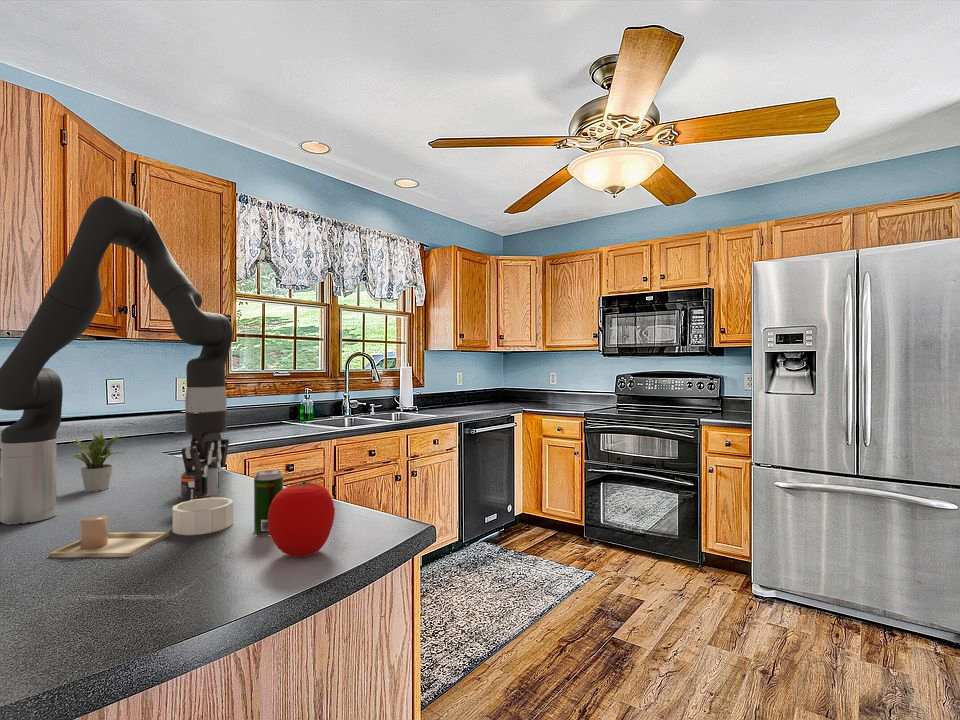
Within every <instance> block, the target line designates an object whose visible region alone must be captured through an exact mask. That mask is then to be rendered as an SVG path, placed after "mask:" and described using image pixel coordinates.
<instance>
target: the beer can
mask: <svg viewBox="0 0 960 720" xmlns="http://www.w3.org/2000/svg"><path fill="white" fill-rule="evenodd" d="M253 487H254V488H253V499H254V500H253V501H254V502H253V515H254V516H253V517H254V518H253V531H254V534H255V535H256V536H258V535H259V536H258V537H269V536H268V535H270V533H269V528H268V513H269V508H270V505H271V503H272V500H273V499H274V497H275V496H276V495H277V494H278V493H279V492H280V491H281V490H282V489H284V475H283V471H282V470H280V469H279V470H278V469H267V470H261V471H257V472H255V476H254V479H253Z"/></svg>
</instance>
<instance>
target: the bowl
mask: <svg viewBox="0 0 960 720" xmlns="http://www.w3.org/2000/svg"><path fill="white" fill-rule="evenodd" d="M233 524H234V502H233V498H228V497H210V498H203V499H195V500H190V501H186V502H181V501H180V502H179V503H178V504H175V505H173V506H172V533H174V534H176V535H181V536H196V535H198V536H199V535H205V534H212V533H215V532H220V531H223V530H225V529H227V528H229V527H231V526H232V525H233Z"/></svg>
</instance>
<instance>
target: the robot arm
mask: <svg viewBox="0 0 960 720" xmlns="http://www.w3.org/2000/svg"><path fill="white" fill-rule="evenodd" d="M111 244H114V245H116V246H120V247H123V248H128V249H129V250H131V251H132V252H133V253H135V254H136V256H137V257H138V258H140V260H141V261H142V263H143V264H144V266H145V270H146V280H147V282H148V285H149V288H150V290H151V291H152V292H153V294H154V295H155V297H156V298H157V299H158V300H159V302H161V305H163V306H164V308H165V309H166V310H167V313H168V316H169V320H170V321H171V324H172V326H173V330H174V332H175V334H176V335H177V337H178V338H179V339H180V340H182V341H183V342H184V343H186V344H188V345H189V346H195V347H196V346H197V347H198V346H199V347H201V351H200V354H199V356H198V357H195V358H192V359H190V360H188V362H187V364H186V369H185V371H186V373H185V374H186V375H185V376H186V390H185V391H186V392H185V397H184V398H185V400H184V405H185V407H184V409H185V410H184V413H185V414H184V415H185V416H184V417H185V418H184V419H185V422H184V423H185V433H187V434H189V435H191V441H190V444H191V446H190V445H189V446H188V447H182V449H181V455H182V456H181V457H182V461H183V464H184V471H185V470H186V475H187V476H192V477H194V494H195V496H205V495H207V477H206V476H207V470H208V467H217V468H218V490H219V489H220V472H221V471H222V468H224V467H225V466H226V462H227V456H228V449H229V443H230V442H229V441H230V440H229V439H228V438H222V435H221V433H223V432H225V431H227V429H228V423H227V422H228V420H227V419H228V418H227V417H228V416H227V415H228V414H227V413H228V412H227V411H228V410H227V409H228V407H227V405H228V404H227V401H228V400H227V392H226V391H227V390H226V369H225V368H226V364H227V362H228V357H229V355H230V354H229V353H230V350H231V345H232V342H233V327H232V324H231V321H230V320H229V318H228V317H227V316H226V315H224V314H221V313H218V312H216V313H215V312H210V311H209V312H208V311H202V310H201V309H200V307H201V306H202V303H203V298H202V295H201V293H200V292H199V290H197V288H196V286H195V285H194V284H193V283H192V282H191V280H190V279H189V278H188V276H187V275H186V274H185V273H184V272H183V270H182V269H181V268H180V266H179V265H178V264H177V262H176V261H175V259H174V257H173V256H172V254H171V252H170V251H169V249H168V247H167V245H166V244H165V242H164V240H163V238H162V235H161V234H160V232H159V231H158V229H157V226H156V225H155V223H154V222H153V220H152V218H151V217H150V216H149V215H148V213H147V212H146V211H144V210H143V209H141V208H139V207H137V206H135V205H133V204H130V203H128V202H125V201H123V200H120V199H118V198H115V197H112V196H109V195H104V196H100V197H98V198H96V199H95V200H93V201H92V202H91V203H90V205H89V206H88V208H86V211H85V213H84V215H83V217H82V219H81V222H80V225H79V226H78V229H77V232H76V234H75V237H74V239H73V242H72V244H71V247H70V249H69V252H68V254H67V256H66V258H65V260H64V261H63V262H62V265H61V267H60V269H59V271H58V273H57V275H56V277H55V278H54V280H53V282H52V284H51V285H50V286H49V288H48V289H47V291H46V293H45V295H44V297H43V299H42V300H41V303H40V305H39V306H38V308H37V311H36V313H35V315H34V317H33V318H32V320H31V322H30V323H29V325H28V327H27V328H26V330H25V331H24V333H23V334H22V336H21V338H20V339H19V342H17V344H16V346H15V348H14V349H13V350H12V352H11V353H10V354H9V355H8V357H6V359H5V360H4V362H3V363H2V365H1V366H0V410H3V411H13V412H14V411H23V412H22V414H21V415H22V416H21V417H20V418H19V419H18V420H17V421H16V422H14V423H13V424H10V425H9V426H6V427H4V428H3V429H2V431H1V433H0V441H1V442H0V522H2V523H10V524H9V525H19V524H18V523H22V524H28V522H30V523H35V522H40V521H43V520H47V519H50V518H53V517H55V516H56V515H57V437H58V436H57V432H58V429H59V428H60V426H61V421H62V411H63V410H62V408H63V398H64V397H63V394H64V392H63V383H62V379H61V377H60V375H59V373H58V372H57V371H55V370H54V369H51V368H48V367H45V365H47V364H46V363H47V362H48V361H49V360H51V358H52V357H53V356H54V355H55V354H57V353H58V352H59V351H60V350H62V349H64V348H65V347H66V346H68V345H69V344H71V343H72V342H73V341H75V340H76V339H77V338H79V337H80V336H81V335H82V334H83V333H85V331H86V330H87V329H88V328H89V327H90V325H91V323H92V322H93V320H94V318H95V316H96V314H97V312H98V311H99V310H100V307H101V305H102V300H103V292H102V291H103V290H102V284H101V275H100V268H101V264H102V260H103V257H104V255H106V251H107V250H108V248H109V247H110V245H111ZM200 460H203V461H200ZM211 462H212V463H211ZM201 465H202V470H201ZM191 466H193V468H192V469H191ZM2 523H1V524H2Z"/></svg>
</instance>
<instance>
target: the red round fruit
mask: <svg viewBox="0 0 960 720" xmlns="http://www.w3.org/2000/svg"><path fill="white" fill-rule="evenodd" d="M315 482H316V481H314V482H311V481H308V482H306V480H302V482H298V483H294V484H291V485H288V486H285V487H283V489H282V490H281V491H280V492H279V493H278V494H277V495H276V496H275V497H274V499H273V500H272V503H271V505H270V508H269V513H268V528H269V533H270V535H271V536H270V537H271V539H272V541H273V543H274V545H275V546H276V547H277V549H278V550H280V551H281V553H283V554H285V555H288V556H291V557H295V558H296V557H298V558H301V557H302V558H303V557H308V556H311V555H315V554H316V553H318V552H319V551H320V550H321V549H322V548H323V547H324V546H325V544H326V542H327V540H328V538H329V536H330V534H331V530H332V527H333V525H334V524H333V523H334V520H335V514H336V513H335V510H336V509H335V504H334V500H333V497H332V495H331V493H330V492H329V491H328V489H327V488H326V487H324V486H323V485H322V484H319V483H315Z"/></svg>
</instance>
